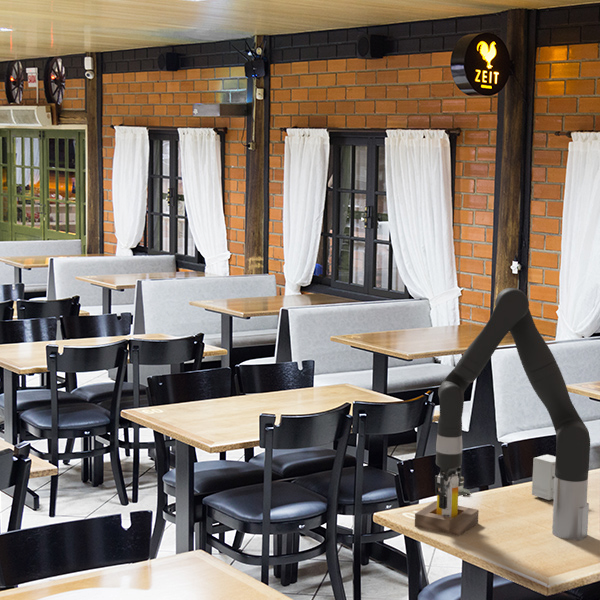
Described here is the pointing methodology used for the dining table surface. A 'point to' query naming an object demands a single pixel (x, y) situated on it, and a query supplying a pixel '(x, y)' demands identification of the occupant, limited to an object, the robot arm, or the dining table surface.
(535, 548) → the dining table surface
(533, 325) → the robot arm
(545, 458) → the supplement box
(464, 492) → the pot lid
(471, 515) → the box holder
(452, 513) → the beer can
